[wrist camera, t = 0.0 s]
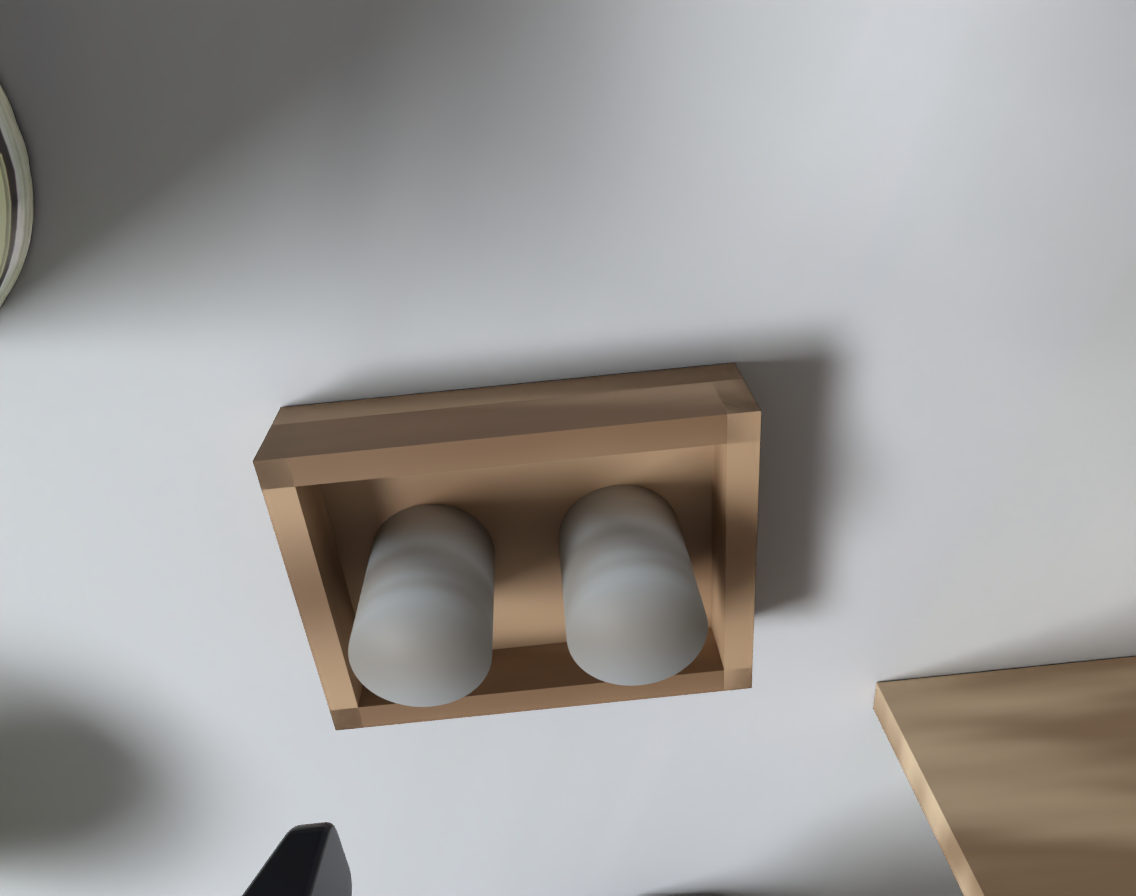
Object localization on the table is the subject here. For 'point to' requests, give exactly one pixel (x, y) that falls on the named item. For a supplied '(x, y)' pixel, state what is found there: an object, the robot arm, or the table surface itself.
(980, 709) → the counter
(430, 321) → the table surface
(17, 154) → the coffee can
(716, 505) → the tray
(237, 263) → the table surface
